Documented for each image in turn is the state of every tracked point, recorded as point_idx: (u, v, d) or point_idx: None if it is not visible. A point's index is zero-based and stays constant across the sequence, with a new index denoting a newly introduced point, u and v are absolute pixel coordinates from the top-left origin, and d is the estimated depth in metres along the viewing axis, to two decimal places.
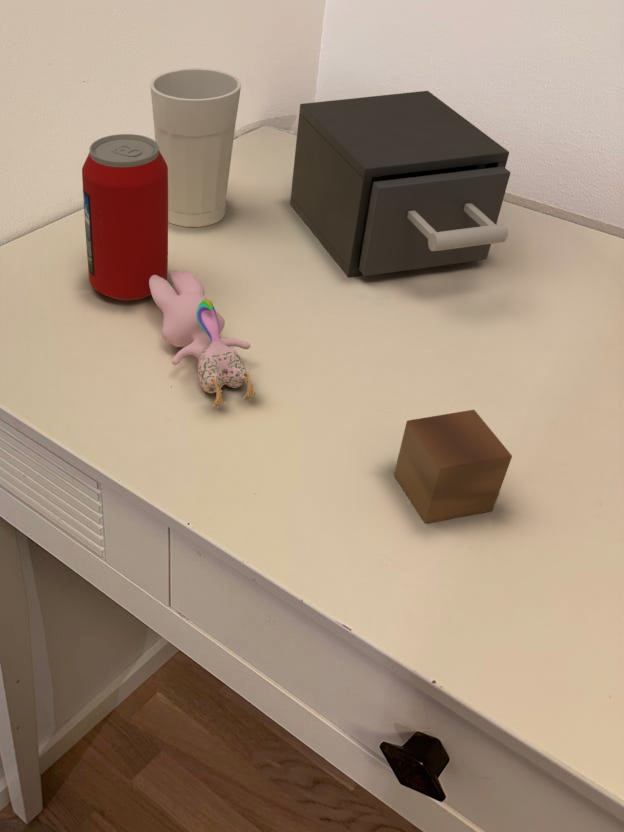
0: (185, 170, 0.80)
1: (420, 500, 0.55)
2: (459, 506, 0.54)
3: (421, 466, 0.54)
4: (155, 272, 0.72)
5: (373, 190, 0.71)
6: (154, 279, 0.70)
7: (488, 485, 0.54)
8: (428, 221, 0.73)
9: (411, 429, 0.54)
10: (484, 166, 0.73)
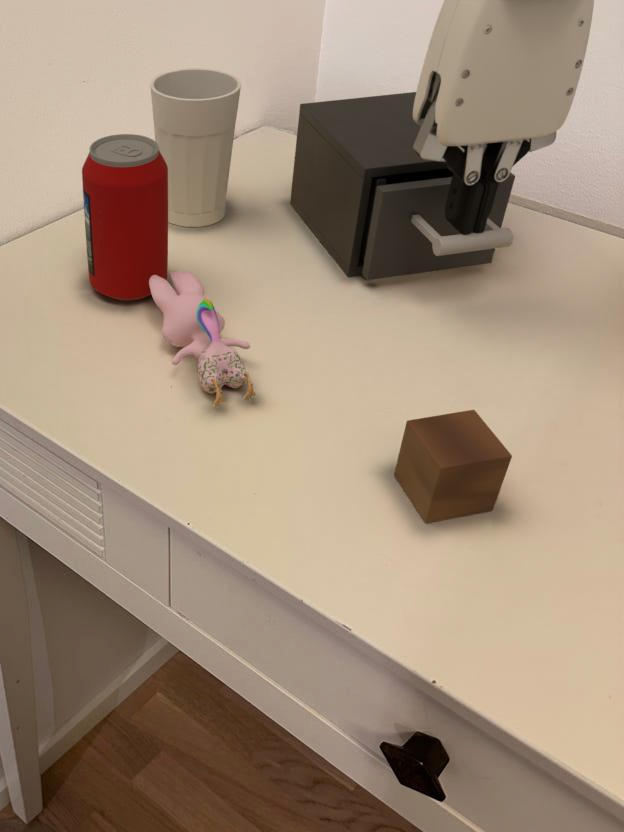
0: (185, 170, 0.80)
1: (420, 500, 0.55)
2: (459, 506, 0.54)
3: (421, 466, 0.54)
4: (155, 272, 0.72)
5: (376, 194, 0.70)
6: (154, 279, 0.70)
7: (488, 485, 0.54)
8: (432, 225, 0.72)
9: (411, 429, 0.54)
10: None
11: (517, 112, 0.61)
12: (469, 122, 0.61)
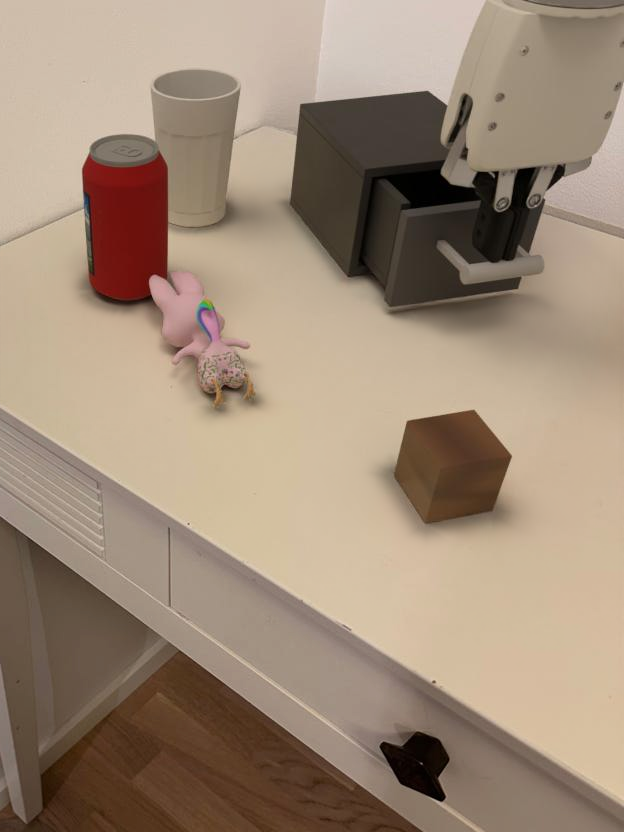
0: (185, 170, 0.80)
1: (420, 500, 0.55)
2: (459, 506, 0.54)
3: (421, 466, 0.54)
4: (155, 272, 0.72)
5: (400, 219, 0.67)
6: (154, 279, 0.70)
7: (488, 485, 0.54)
8: (458, 250, 0.69)
9: (411, 429, 0.54)
10: None
11: (552, 137, 0.58)
12: (502, 147, 0.57)
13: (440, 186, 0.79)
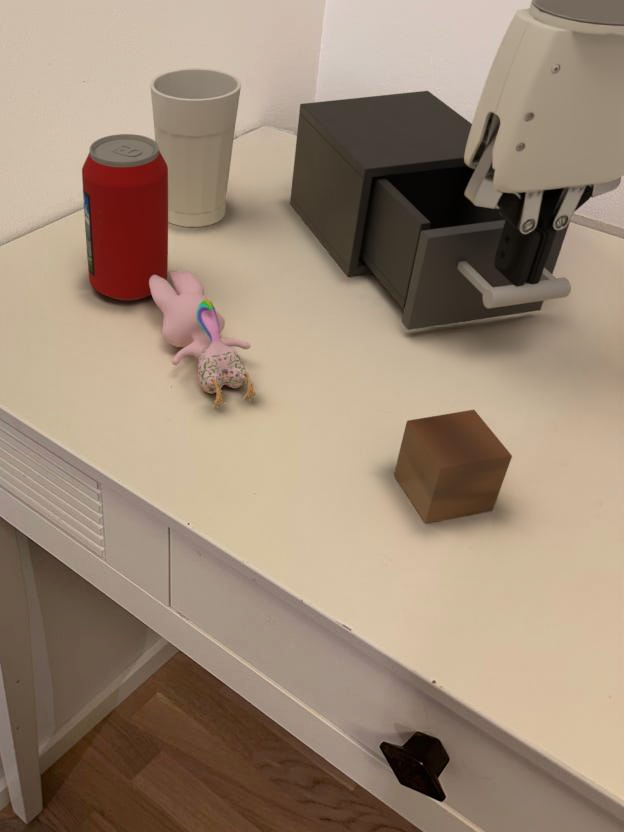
0: (185, 170, 0.80)
1: (420, 500, 0.55)
2: (459, 506, 0.54)
3: (421, 466, 0.54)
4: (155, 272, 0.72)
5: (421, 240, 0.64)
6: (154, 279, 0.70)
7: (488, 485, 0.54)
8: (479, 272, 0.67)
9: (411, 429, 0.54)
10: None
11: (582, 157, 0.55)
12: (530, 168, 0.55)
13: (458, 202, 0.77)
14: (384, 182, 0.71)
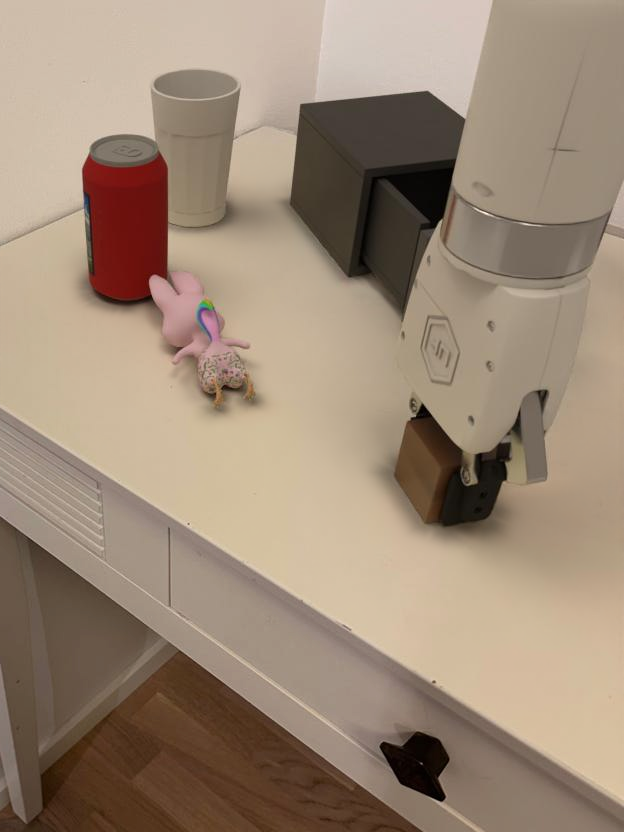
0: (185, 170, 0.80)
1: (420, 500, 0.55)
2: None
3: (421, 466, 0.54)
4: (155, 272, 0.72)
5: (420, 239, 0.65)
6: (154, 279, 0.70)
7: None
8: None
9: (411, 429, 0.54)
10: None
11: None
12: None
13: None
14: (383, 181, 0.71)
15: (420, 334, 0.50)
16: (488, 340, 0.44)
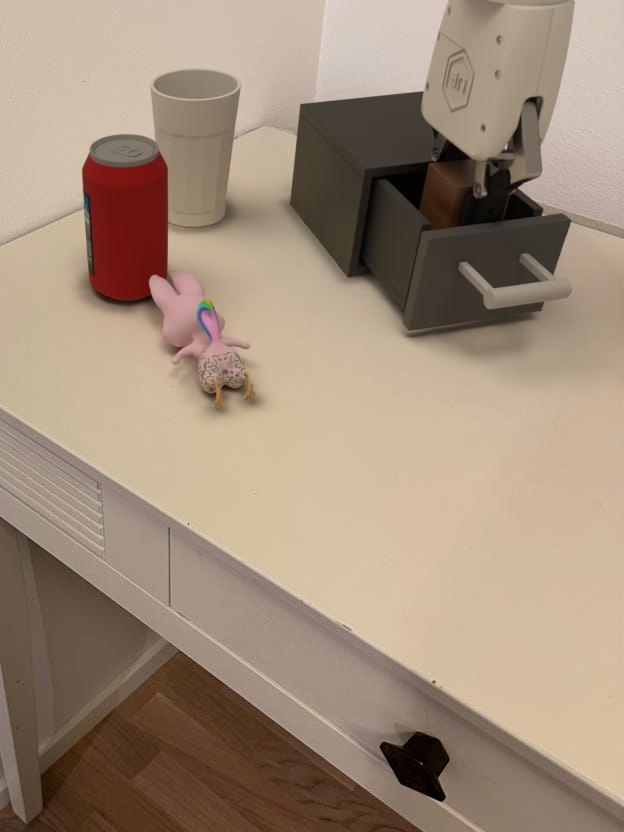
0: (185, 170, 0.80)
1: (439, 227, 0.68)
2: None
3: (440, 196, 0.67)
4: (155, 272, 0.72)
5: (421, 241, 0.64)
6: (154, 279, 0.70)
7: None
8: (480, 272, 0.66)
9: (433, 168, 0.68)
10: (541, 212, 0.67)
11: None
12: None
13: None
14: (384, 182, 0.71)
15: (442, 76, 0.64)
16: (496, 53, 0.57)
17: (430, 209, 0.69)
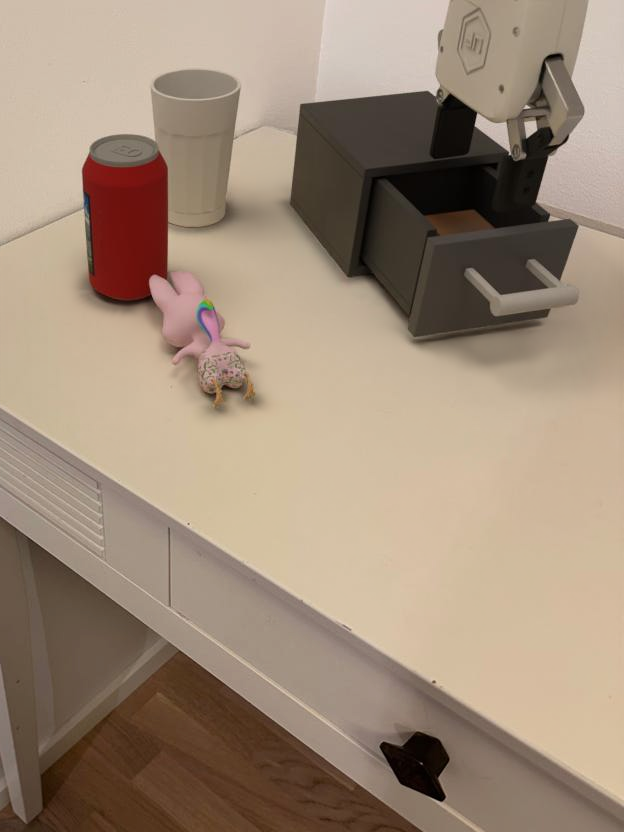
0: (185, 170, 0.80)
1: None
2: None
3: None
4: (155, 272, 0.72)
5: (427, 247, 0.64)
6: (154, 279, 0.70)
7: None
8: (486, 279, 0.66)
9: None
10: (548, 217, 0.66)
11: None
12: None
13: (464, 208, 0.76)
14: (389, 187, 0.70)
15: (457, 38, 0.62)
16: (514, 9, 0.55)
17: None
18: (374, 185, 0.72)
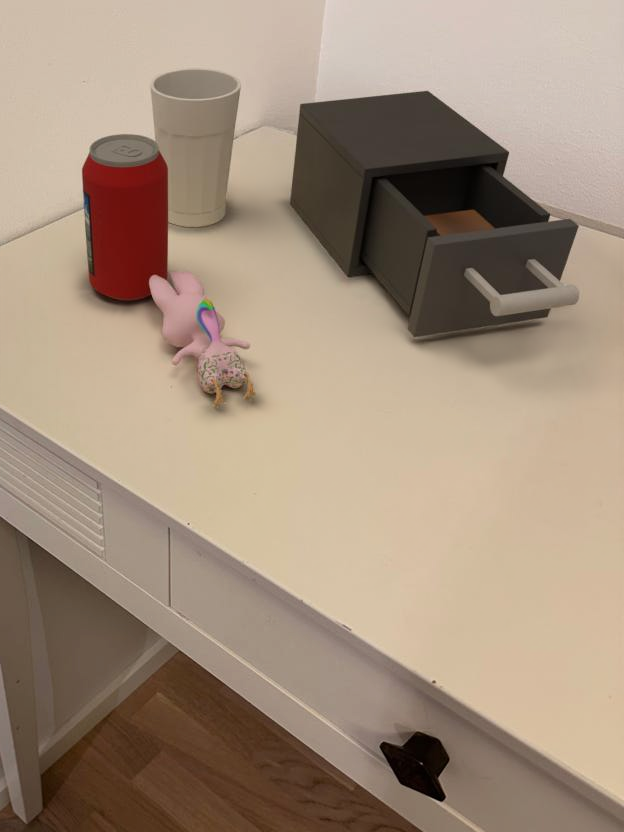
0: (185, 170, 0.80)
1: None
2: None
3: None
4: (155, 272, 0.72)
5: (427, 247, 0.64)
6: (154, 279, 0.70)
7: None
8: (486, 279, 0.66)
9: None
10: (548, 217, 0.66)
11: None
12: None
13: (464, 208, 0.76)
14: (389, 187, 0.70)
15: None
16: None
17: None
18: (374, 185, 0.72)
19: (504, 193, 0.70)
